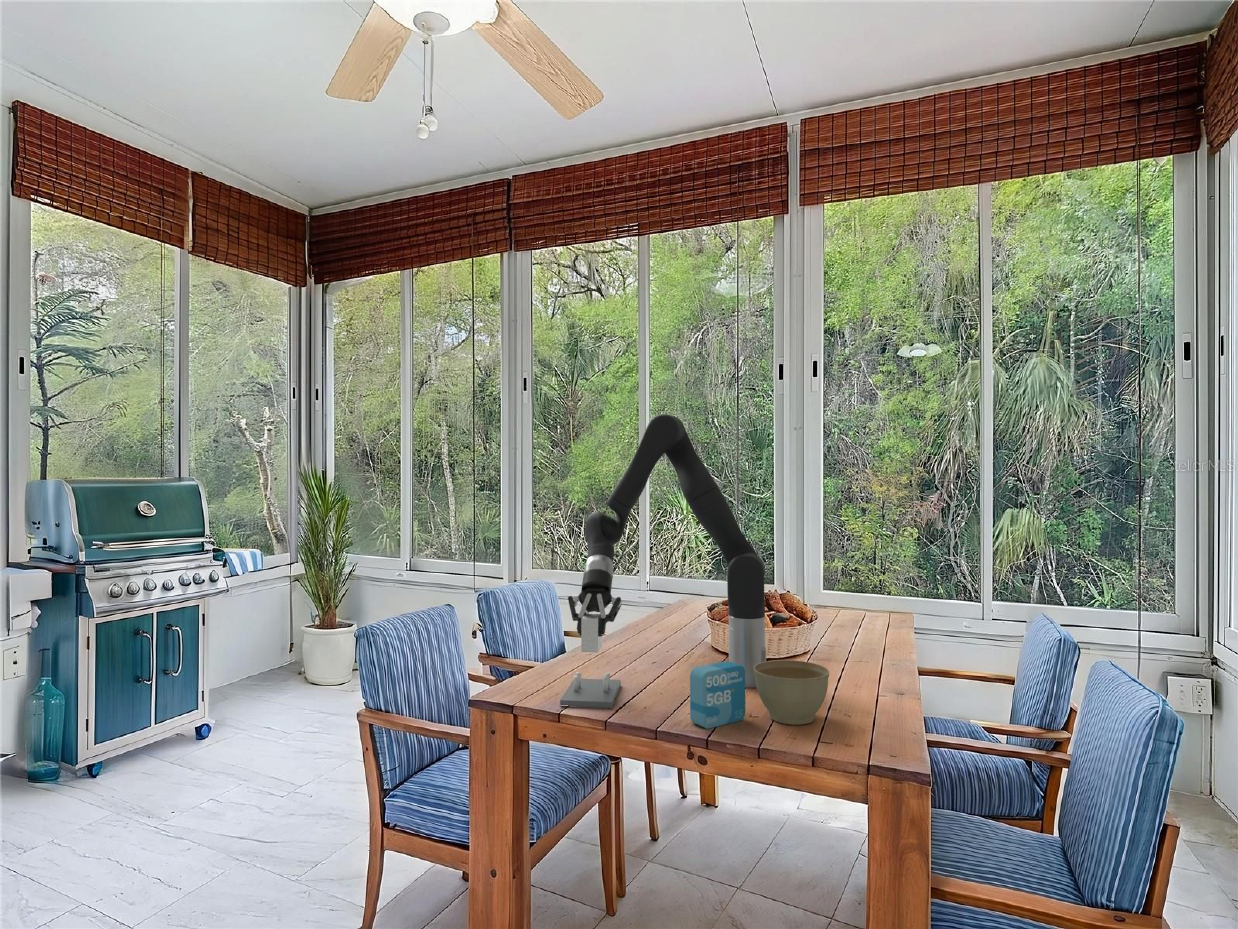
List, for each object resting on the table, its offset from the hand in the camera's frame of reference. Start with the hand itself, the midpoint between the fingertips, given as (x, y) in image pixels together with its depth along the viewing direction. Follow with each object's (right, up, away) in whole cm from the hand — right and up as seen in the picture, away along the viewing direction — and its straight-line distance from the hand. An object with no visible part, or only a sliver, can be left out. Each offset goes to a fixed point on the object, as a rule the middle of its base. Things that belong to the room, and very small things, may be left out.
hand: (590, 634), depth 169 cm
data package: (+28, -15, -17) cm, 36 cm away
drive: (0, -4, +2) cm, 5 cm away
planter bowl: (+45, -15, -15) cm, 49 cm away
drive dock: (0, -15, +2) cm, 15 cm away
